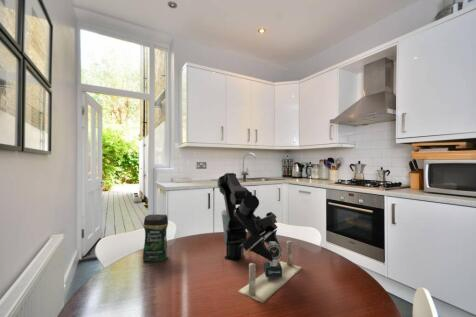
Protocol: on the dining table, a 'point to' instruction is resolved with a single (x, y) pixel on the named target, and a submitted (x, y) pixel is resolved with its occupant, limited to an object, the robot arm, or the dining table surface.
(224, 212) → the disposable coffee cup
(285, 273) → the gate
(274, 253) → the watch
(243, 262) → the dining table surface
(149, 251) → the coffee jar
